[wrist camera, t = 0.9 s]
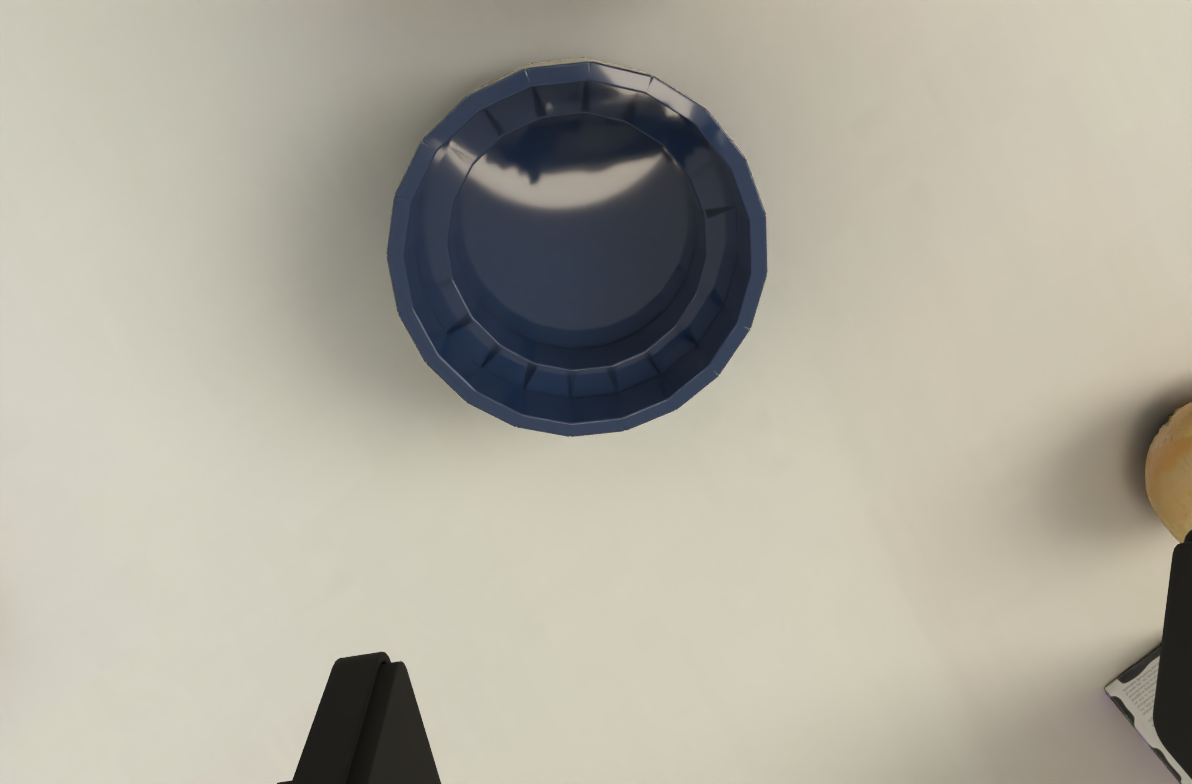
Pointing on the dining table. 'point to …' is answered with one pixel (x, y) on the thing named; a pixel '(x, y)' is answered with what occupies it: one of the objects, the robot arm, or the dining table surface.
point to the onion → (1172, 473)
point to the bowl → (577, 248)
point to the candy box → (1144, 707)
